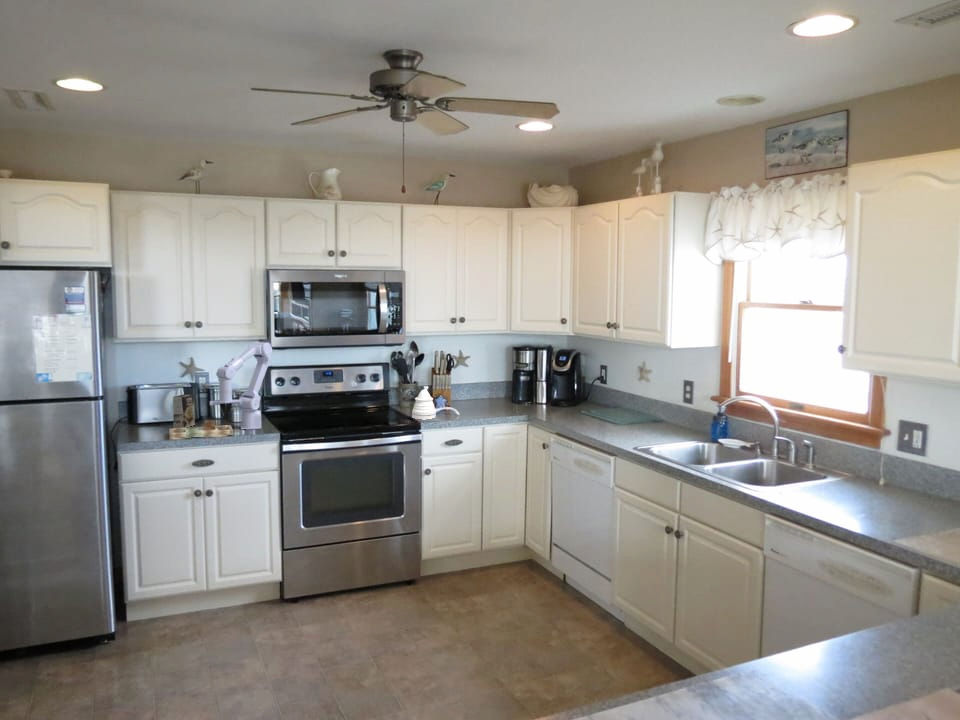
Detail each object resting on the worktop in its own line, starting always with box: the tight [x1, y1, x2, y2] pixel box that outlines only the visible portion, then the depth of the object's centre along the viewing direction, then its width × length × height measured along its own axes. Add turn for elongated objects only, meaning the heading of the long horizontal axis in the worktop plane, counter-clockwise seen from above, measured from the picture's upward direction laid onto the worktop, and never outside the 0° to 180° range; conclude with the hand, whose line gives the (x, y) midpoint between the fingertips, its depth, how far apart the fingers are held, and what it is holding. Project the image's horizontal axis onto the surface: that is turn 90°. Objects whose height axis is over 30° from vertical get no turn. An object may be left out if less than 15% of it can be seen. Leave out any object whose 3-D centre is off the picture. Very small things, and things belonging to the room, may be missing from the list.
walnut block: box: [204, 419, 216, 430], centre depth 355 cm, size 4×4×4 cm
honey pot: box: [411, 385, 437, 420], centre depth 401 cm, size 13×13×18 cm
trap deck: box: [168, 424, 234, 441], centre depth 354 cm, size 28×14×2 cm, turn 113°
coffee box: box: [172, 394, 196, 428], centre depth 369 cm, size 9×6×16 cm
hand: (226, 419), depth 357 cm, fingers closed
